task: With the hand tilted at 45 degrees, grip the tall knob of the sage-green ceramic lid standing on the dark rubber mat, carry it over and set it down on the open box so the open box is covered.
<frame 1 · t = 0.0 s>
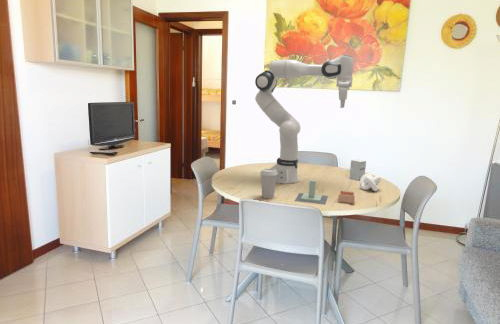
hand: (342, 107, 212), 48 cm above the table, tool pointing down, fingers open, 8 cm apart
mat: (311, 199, 191), on the table
lid: (311, 198, 191), resting on mat
coffee cup: (267, 197, 193), on the table
open box: (346, 201, 189), on the table
supplement box: (356, 178, 240), on the table
white knot sculpture: (368, 190, 214), on the table
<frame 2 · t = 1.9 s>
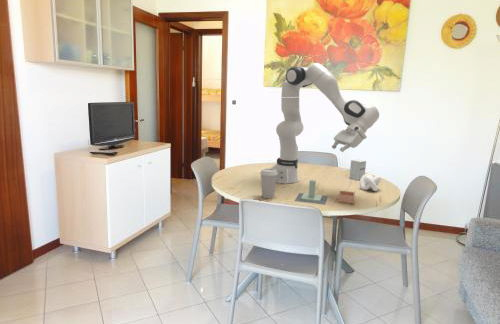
hand: (336, 149, 189), 27 cm above the table, tool tilted 45°, fingers open, 8 cm apart
nothing on the table moved.
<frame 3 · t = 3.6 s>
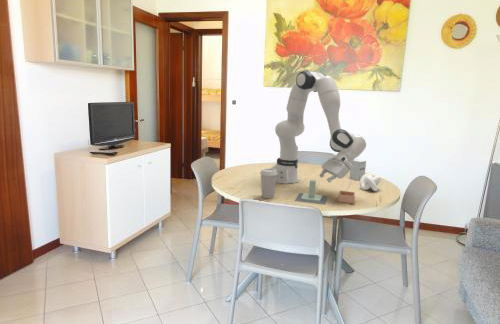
hand: (324, 178, 191), 11 cm above the table, tool tilted 45°, fingers open, 8 cm apart
nothing on the table moved.
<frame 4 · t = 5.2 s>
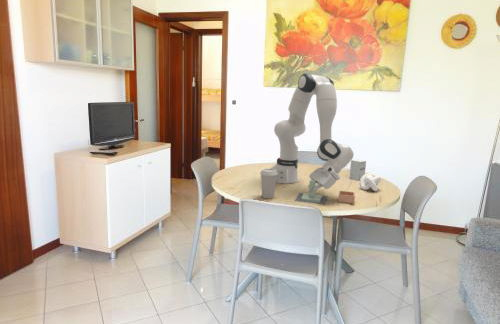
hand: (311, 188, 190), 6 cm above the table, tool tilted 45°, fingers closed on lid, 4 cm apart
lid: (311, 198, 191), resting on mat, touching gripper
everything else where it was.
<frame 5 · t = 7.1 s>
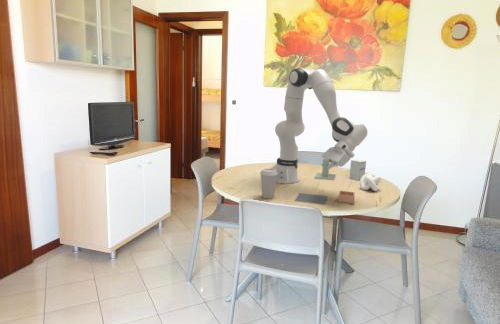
hand: (324, 167, 187), 18 cm above the table, tool tilted 45°, fingers closed on lid, 4 cm apart
lid: (325, 177, 188), point 13 cm above the table, touching gripper
everything else where it was.
when the fingers open (11 cm above the table, at t = 9.3 s): lid drops 1 cm, resting on open box.
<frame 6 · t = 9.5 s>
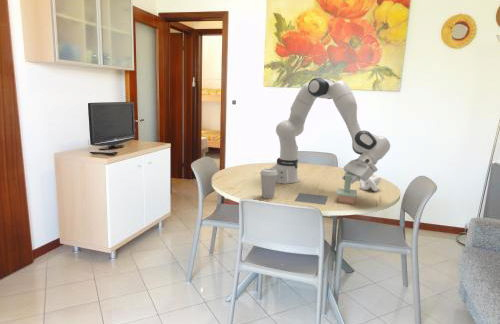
hand: (346, 180, 187), 11 cm above the table, tool tilted 45°, fingers open, 6 cm apart
lid: (346, 193, 188), point 4 cm above the table, touching open box
everything else where it was.
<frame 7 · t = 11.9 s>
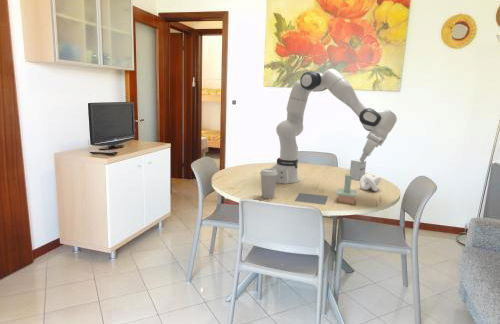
hand: (360, 161, 190), 21 cm above the table, tool tilted 30°, fingers open, 8 cm apart
nothing on the table moved.
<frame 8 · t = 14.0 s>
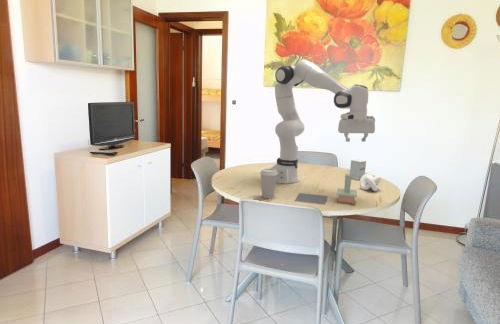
hand: (355, 141, 192), 31 cm above the table, tool pointing down, fingers open, 8 cm apart
nothing on the table moved.
at the end: lid 0.1 cm off-centre on the open box, point 4.5 cm above the open box's base; lid tilted 0°; the gripper is holding nothing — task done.
